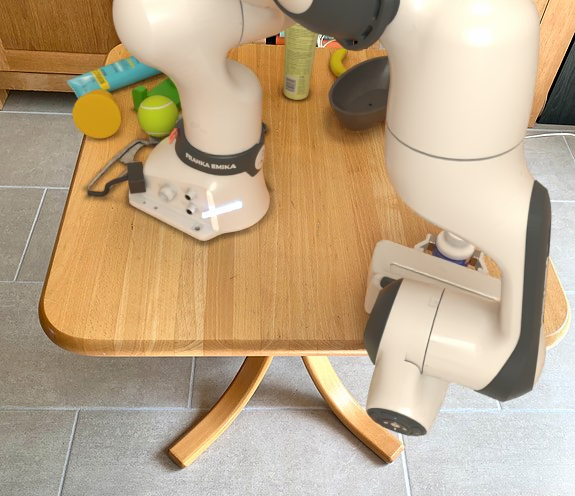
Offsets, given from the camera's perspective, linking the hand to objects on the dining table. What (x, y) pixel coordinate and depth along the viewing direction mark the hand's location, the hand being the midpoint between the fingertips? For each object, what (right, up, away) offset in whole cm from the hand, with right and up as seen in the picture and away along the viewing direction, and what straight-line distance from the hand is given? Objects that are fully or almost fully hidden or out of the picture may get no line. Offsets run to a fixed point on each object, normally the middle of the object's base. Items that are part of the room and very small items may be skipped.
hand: (454, 245), depth 87 cm
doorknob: (-52, +24, +21) cm, 61 cm away
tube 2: (-22, +29, +32) cm, 48 cm away
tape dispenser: (-45, +28, +29) cm, 60 cm away
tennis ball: (-47, +20, +15) cm, 53 cm away
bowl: (-8, +25, +29) cm, 39 cm away
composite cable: (-30, +18, +22) cm, 41 cm away
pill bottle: (-1, -4, +4) cm, 6 cm away
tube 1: (-47, +37, +32) cm, 68 cm away
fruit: (-15, +37, +37) cm, 54 cm away
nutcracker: (-53, +15, +16) cm, 58 cm away
